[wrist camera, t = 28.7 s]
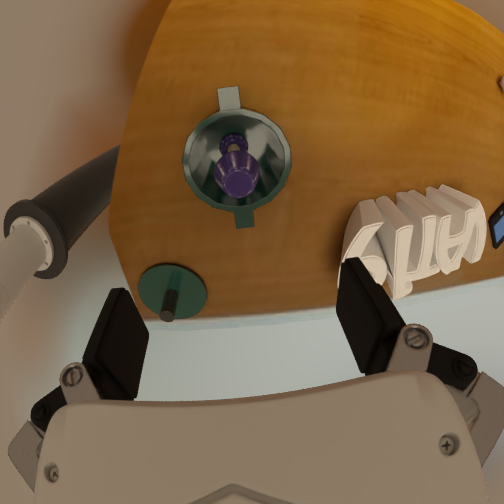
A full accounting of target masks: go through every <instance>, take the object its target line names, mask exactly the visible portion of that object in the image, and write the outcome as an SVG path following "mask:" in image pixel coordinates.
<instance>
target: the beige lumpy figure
mask: <svg viewBox="0 0 504 504" xmlns="http://www.w3.org/2000/svg"><path fill="white" fill-rule="evenodd" d="M499 84H500V85H501V87H502V89H503V90H504V76H503V78H501V81H500V82H499ZM503 92H504V91H503Z"/></svg>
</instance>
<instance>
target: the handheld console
mask: <svg viewBox="0 0 504 504" xmlns="http://www.w3.org/2000/svg"><path fill="white" fill-rule="evenodd" d="M489 224H490V230H491V235H492V240H493V246H494V248H495V249H497V248H498V247H499V246H500V245H501V244H502V243H503V241H504V203H503V204H502V205H501V206H500V208H499V209H498V210H497V211H496V212H495V213H494V215H493V216H492V217H491V218H490V220H489Z"/></svg>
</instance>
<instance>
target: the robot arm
mask: <svg viewBox="0 0 504 504" xmlns="http://www.w3.org/2000/svg"><path fill="white" fill-rule="evenodd" d="M53 258H54V248H53V244H52V241H51V238H50V236H49V234H48V232H47V231H46V230H45V228H44V227H43V226H42V225H41V224H40V223H39V222H38V221H37V220H35V219H34V218H32V217H29V216H20V217H18V218H17V219H16V220H15V221H14V222H13V223H12V225H11V227H10V235H9V236H8V237H7V238H5V239H4V240H3V242H1V243H0V323H1V321H2V319H3V318H4V316H5V315H6V313H7V311H8V310H9V308H10V307H11V305H12V304H13V303H14V301H15V300H16V298H17V297H18V295H19V294H20V293H21V291H22V290H23V288H24V287H25V286H26V284H27V283H28V281H29V280H30V279H31V278H32V276H33V275H34V274H35V272H36V271H43V270H45V269H47V268H48V267H49V266H50V265H51V263H52V261H53ZM336 313H337V316H338V318H339V321H340V323H341V326H342V328H343V330H344V333H345V335H346V338H347V340H348V343H349V345H350V347H351V350H352V352H353V355H354V357H355V360H356V362H357V365H358V368H359V370H360V372H361V373H365V376H364V377H359V378H355V379H351V380H346V381H342V382H338V383H333V384H328V385H323V386H318V387H313V388H307V389H302V390H297V391H290V392H284V393H277V394H270V395H262V396H254V397H245V398H234V399H222V400H205V401H175V402H174V401H172V402H169V401H168V402H167V401H165V402H163V401H161V402H160V401H134V398H136V397H137V394H138V388H139V383H140V378H141V373H142V367H143V363H144V358H145V354H146V349H147V345H148V340H149V332H148V330H147V328H146V326H145V324H144V322H143V320H142V318H141V316H140V314H139V312H138V310H137V307H136V305H135V303H134V301H133V299H132V297H131V295H130V293H129V291H128V290H125V288H113V289H111V290H110V293H109V295H108V297H107V299H106V301H105V303H104V306H103V308H102V310H101V313H100V315H99V317H98V320H97V322H96V324H95V327H94V329H93V332H92V334H91V337H90V339H89V342H88V345H87V347H86V349H85V352H84V355H83V358H82V359H83V361H82V364H81V363H79V362H75V363H71V364H69V365H67V366H66V367H65V368H64V369H63V370H62V372H61V374H60V379H59V380H60V386H59V387H57V388H56V389H54V390H53V391H52V392H50V393H49V394H47V395H46V396H45V397H43V398H42V399H41V400H39V401H38V402H37V403H36V404H35V405H34V406H33V408H32V410H31V421H27V422H26V423H25V424H24V426H23V427H22V428H21V430H20V431H19V432H18V433H17V435H16V436H15V437H14V439H13V440H12V441H11V443H10V445H9V448H8V455H9V457H10V459H11V461H12V463H13V464H14V466H15V467H16V469H17V470H18V472H19V473H20V474H21V476H22V477H23V478H24V480H25V481H26V483H27V484H28V485H29V487H30V488H31V489H32V490H33V492H34V493H35V494H34V504H489V498H488V493H487V489H486V484H485V480H484V476H483V472H482V466H483V464H484V463H485V461H486V460H487V458H488V456H489V455H490V453H491V451H492V449H493V447H494V446H495V444H496V442H497V440H498V438H499V436H500V434H501V432H502V430H503V428H504V387H503V386H502V385H500V384H499V383H498V382H496V381H495V380H494V379H492V378H491V377H490V376H488V375H487V374H486V373H484V372H483V371H482V372H481V373H479V372H478V369H477V365H476V363H475V361H474V360H473V359H472V358H471V357H470V356H468V355H466V354H463V353H460V352H458V351H455V350H452V349H449V348H447V347H444V346H441V345H439V344H436V343H433V337H432V334H431V333H430V331H429V330H428V329H427V328H426V327H424V326H422V325H420V324H409V325H406V324H405V322H404V320H403V319H402V317H401V316H400V314H399V313H398V311H397V309H396V307H395V306H394V304H393V303H392V301H391V300H390V298H389V297H388V295H387V293H386V292H385V290H384V289H383V287H382V286H381V285H380V284H379V283H376V282H375V280H374V279H373V277H372V276H371V274H370V273H369V271H368V270H367V268H366V267H365V265H364V264H363V262H362V261H361V260H360V258H359V257H352V258H346V259H345V261H344V262H342V263H341V268H340V278H339V287H338V296H337V304H336Z"/></svg>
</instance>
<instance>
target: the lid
mask: <svg viewBox="0 0 504 504" xmlns="http://www.w3.org/2000/svg"><path fill="white" fill-rule="evenodd" d="M138 291H139V295H140V298H141V299H142V301H143V303H144V304H145V305H146V306H147V307H148V308H149V309H150V310H151V311H153V312H154V313H156V314H158V315H159V317H160V319H161V320H163V321H165V322H171V321H173V320H174V319H185V318H189V317H192V316H194V315H196V314H197V313H199V312H200V311H201V310H202V309H203V307H204V305H205V303H206V299H207V292H206V288H205V285H204V284H203V282H202V281H201V279H200V278H199V277H198V276H197V275H196V274H195V273H193V272H192V271H190V270H188V269H186V268H184V267H181V266H178V265H172V264H162V265H157V266H154V267H152V268H150V269H148V270H147V271H146V272H145V273H144V274H143V275H142V277H141V279H140V281H139V286H138Z"/></svg>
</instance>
